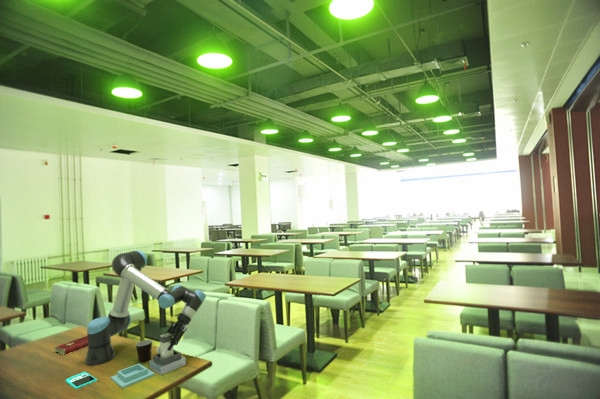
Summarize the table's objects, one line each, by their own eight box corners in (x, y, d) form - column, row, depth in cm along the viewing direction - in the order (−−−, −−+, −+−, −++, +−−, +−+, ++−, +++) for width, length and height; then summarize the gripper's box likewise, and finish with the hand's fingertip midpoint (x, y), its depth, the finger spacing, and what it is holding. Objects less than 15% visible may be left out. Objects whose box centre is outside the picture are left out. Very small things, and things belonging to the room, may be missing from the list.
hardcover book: (98, 343, 231) (97, 337, 231) (64, 356, 213) (64, 349, 213) (88, 340, 237) (87, 334, 237) (54, 353, 218) (54, 346, 218)
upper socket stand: (149, 367, 188) (148, 355, 188) (173, 358, 198) (172, 347, 198) (161, 375, 178) (160, 362, 178) (185, 364, 188) (185, 352, 189)
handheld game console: (85, 373, 187) (85, 370, 187) (98, 381, 177) (97, 378, 177) (64, 381, 179) (64, 379, 179) (76, 390, 169) (76, 387, 169)
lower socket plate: (110, 378, 178) (110, 372, 178) (141, 366, 189) (141, 360, 190) (122, 388, 167) (122, 381, 167) (154, 375, 179) (154, 368, 179)
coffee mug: (146, 363, 193) (145, 346, 193) (133, 363, 194) (132, 345, 195) (159, 354, 204) (158, 338, 204) (146, 354, 206) (145, 337, 206)
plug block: (160, 359, 188) (159, 335, 188) (169, 356, 192) (168, 332, 192) (165, 361, 185) (163, 337, 185) (173, 358, 188) (172, 334, 188)
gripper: (199, 321, 193) (174, 361, 181) (182, 316, 206) (157, 353, 194) (190, 315, 189) (163, 355, 177) (173, 309, 202) (147, 346, 190)
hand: (160, 354), depth 185 cm, fingers open, 6 cm apart
